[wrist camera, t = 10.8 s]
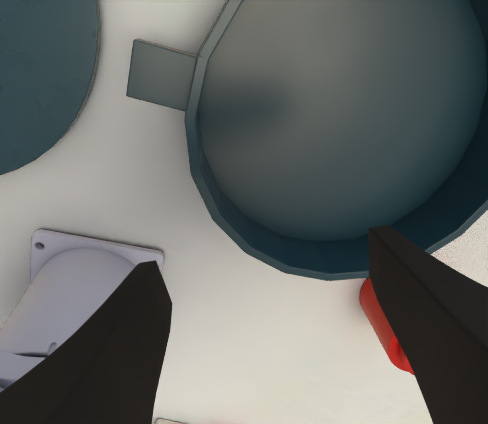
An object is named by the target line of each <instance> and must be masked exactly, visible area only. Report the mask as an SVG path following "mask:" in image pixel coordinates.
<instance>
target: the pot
mask: <svg viewBox="0 0 488 424" xmlns="http://www.w3.org/2000/svg"><path fill="white" fill-rule="evenodd" d="M126 95H127V96H128V97H132V98H135V99H139V100H143V101H147V102H151V103H155V104H159V105H163V106H167V107H170V108H174V109H178V110H182V111H186V113H185V128H186V136H187V145H188V153H189V162H190V170H191V175H192V178H193V180H194V182H195V184H196V186H197V188H198V190H199V192H200V194H201V196H202V198H203V201H204V203H205V205H206V207H207V209H208V211H209V213H210V215H211V217H212V219H213V221H214V222H215V223H216V224H217V225H218V226H219V227H220V228H221V229H222V230H223V231H224V232H225V233H226V234H227V235H228V236H229V237H230V238H231V239H232V240H233V241H234V242H235V243H236V244H237V245H238V246H239V247H240V248H241V249H242V250H243V251H244V252H246V253H247V254H249V255H251V256H253V257H254V258H256V259H258V260H260V261H262V262H264V263H266V264H268V265H270V266H272V267H274V268H276V269H278V270H280V271H282V272H284V273H287V274H293V275H298V276H304V277H309V278H315V279H320V280H326V281H328V280H329V281H333V280H345V279H356V278H368V277H369V228H372V227H378V226H385V225H388V226H390V227H391V228H393V229H394V230H395V231H397V232H398V233H400V234H401V235H402V236H404V237H405V238H407V239H408V240H410V241H411V242H412V243H414V244H415V245H417V246H418V247H420V248H421V249H423V250H424V251H425V252H427V253H429V254H432V253H433V252H435V251H437V250H438V249H440V248H442V247H443V246H445V245H446V244H448V243H450V242H451V241H453V240H454V239H456V238H458V237H459V236H461V235H462V234H463V233H464V232H465V231H466V230H467V229H468V228H469V227H470V226H471V225H472V224H473V223H474V222H475V221H476V220H477V219H478V218H479V217H480V216H481V215H483V214H484V213H485V212H486V211H487V210H488V0H227V1H226V3H225V4H224V6H223V8H222V10H221V12H220V13H219V15H218V17H217V19H216V21H215V22H214V24H213V26H212V28H211V29H210V31H209V33H208V35H207V37H206V38H205V40H204V42H203V44H202V46H201V47H200V50H199V52H198V55H194V54H190V53H187V52H183V51H180V50H176V49H173V48H170V47H166V46H163V45H159V44H156V43H152V42H149V41H145V40H142V39H135V40H134V41H133V48H132V56H131V64H130V71H129V79H128V86H127V94H126Z"/></svg>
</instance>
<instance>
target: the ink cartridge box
mask: <svg viewBox="0 0 488 424" xmlns="http://www.w3.org/2000/svg"><path fill="white" fill-rule="evenodd" d="M155 424H182V423H178V422H173V421H169V420H164V419H158V420H157V421H156V423H155Z"/></svg>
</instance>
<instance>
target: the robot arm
mask: <svg viewBox="0 0 488 424" xmlns="http://www.w3.org/2000/svg"><path fill="white" fill-rule="evenodd" d="M39 242H40V243H42V244H43V245H44V246H40V245H39V244H38V243H39ZM164 258H165V257H164V254H163V253H162V252H161V251H159V250H153V249H148V248H142V247H137V246H131V245H126V244H120V243H115V242H109V241H104V240H98V239H93V238H87V237H81V236H76V235H70V234H65V233H59V232H54V231H48V230H43V229H39V230H36V231H35V232H34V233H33V235H32V237H31V272H30V286H29V287H28V289H27V290H26V292H25V293H24V295H23V296H22V298H21V299H20V301H19V302H18V304H17V305H16V306H15V308H14V309H13V311H12V312H11V314H10V315H9V317H8V318H7V320H6V321H5V323H4V324H3V326H2V327H1V329H0V424H152V416H153V408H154V402H155V397H156V391H157V387H158V383H159V378H160V374H161V369H162V365H163V360H164V356H165V352H166V347H167V342H168V338H169V333H170V325H171V314H172V302H171V299H170V296H169V294H168V291H167V288H166V286H165V283H164V280H163V278H162V275H161V272H162V268H163V263H164ZM157 263H158V264H157ZM369 278H370V281H371V284H372V286H373V289H374V292H375V295H376V297H377V300H378V303H379V305H380V307H381V309H382V311H383V313H384V315H385V317H386V319H387V321H388V323H389V325H390V327H391V328H392V330H393V332H394V334H395V336H396V338H397V340H398V342H399V344H400V346H401V348H402V350H403V352H404V354H405V356H406V358H407V360H408V362H409V364H410V366H411V368H412V370H413V372H414V375H415V377H416V380H417V382H418V385H419V387H420V390H421V392H422V395H423V397H424V400H425V402H426V405H427V408H428V410H429V413H430V416H431V418H432V421H433V424H488V287H486V286H484V285H482V284H480V283H478V282H476V281H474V280H472V279H470V278H468V277H466V276H465V275H463V274H461V273H459V272H458V271H456V270H454V269H453V268H451V267H449V266H447V265H446V264H444V263H443V262H441V261H439V260H438V259H436V258H435V257H433V256H432V255H430V254H429V253H427V252H425V251H424V250H423V249H421V248H420V247H418V246H417V245H415V244H414V243H412V242H411V241H410V240H408V239H407V238H405V237H404V236H402V235H401V234H400V233H398V232H397V231H395V230H394V229H393V228H391V227H390V226H388V225H385V226H378V227H372V228H369Z"/></svg>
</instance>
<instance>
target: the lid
mask: <svg viewBox="0 0 488 424" xmlns="http://www.w3.org/2000/svg"><path fill="white" fill-rule="evenodd" d="M99 49H100V13H99V2H98V0H0V175H3V174H5V173H8V172H11V171H14V170H17V169H19V168H21V167H22V166H24V165H26V164H28V163H30V162H32V161H34V160H35V159H37V158H38V157H39V156H41V155H42V154H43V153H45V152H46V151H47V150H49V149H50V148H51V147H53V146H54V145H55V144H56V143H57V142H58V141H59V140H60V139H61V138H62V137H63V136H64V135H65V133H66V132H67V131H68V130H69V129H70V127H71V126H72V124H73V123H74V121H75V120H76V119H77V117H78V116H79V114H80V112H81V110H82V108H83V106H84V104H85V102H86V100H87V98H88V96H89V93H90V90H91V86H92V83H93V80H94V77H95V74H96V68H97V62H98V55H99Z"/></svg>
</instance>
